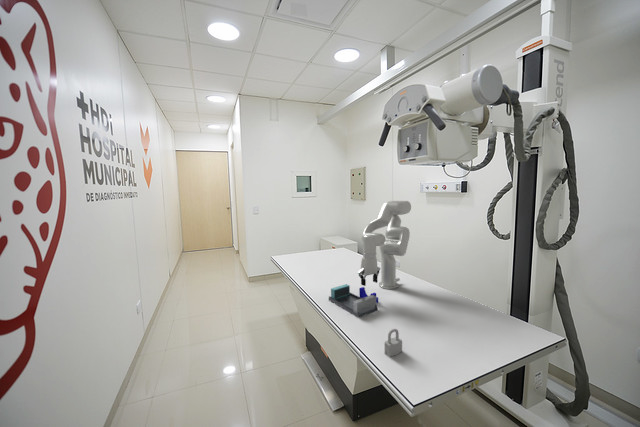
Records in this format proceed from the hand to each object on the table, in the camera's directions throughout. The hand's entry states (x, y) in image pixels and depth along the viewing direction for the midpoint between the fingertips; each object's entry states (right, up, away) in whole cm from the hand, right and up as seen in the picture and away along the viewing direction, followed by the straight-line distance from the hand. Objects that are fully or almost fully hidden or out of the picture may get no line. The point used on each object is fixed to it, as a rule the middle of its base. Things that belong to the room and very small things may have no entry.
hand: (369, 283), depth 157 cm
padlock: (0, -15, -50) cm, 52 cm away
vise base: (-11, -11, -6) cm, 17 cm away
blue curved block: (0, -10, +1) cm, 10 cm away
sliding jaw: (-17, -9, +3) cm, 19 cm away
